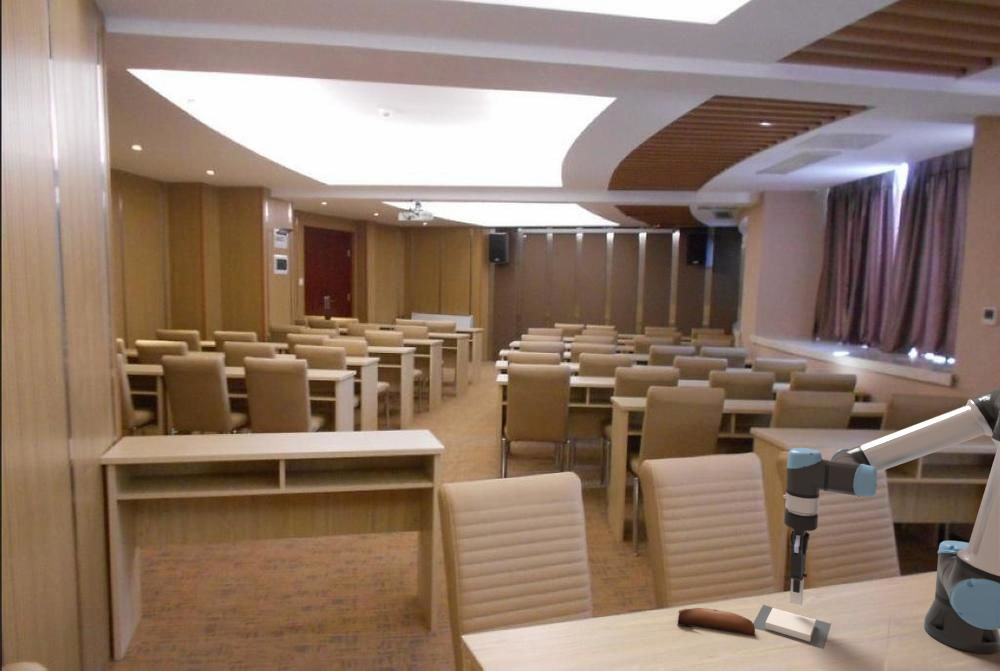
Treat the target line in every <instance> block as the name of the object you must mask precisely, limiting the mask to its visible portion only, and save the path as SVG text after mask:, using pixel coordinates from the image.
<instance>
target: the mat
mask: <svg viewBox="0 0 1000 671" xmlns="http://www.w3.org/2000/svg"><path fill="white" fill-rule="evenodd" d="M772 608H774V607H773V606H769V605H765V604H762V606H761V608H760V610H759V612H758V614H757V615H756V617H755V619H754V621H753V622H752V623H753V624H754V627H755V630H759V631H764V632H765V633H766V632H767V633H770V634H773V635H776V636H779V637H783V638H786V639H790V640H793V641H797V642H799V643H802V644H806V645H809V646H812V647H816V648H820V649H822V650H824V649H825V645H826V641H827V639H828V635H829V631H830V630H831V629H830V628H831V624H832V623H830V622H826V621H823V620H820V619H815V618H814V619H815V620H816V625H815V629H814V632H813V635H812V638H811V640H810V642H809V641H805V640H802V639H799V638H795V637H792V636H789V635H785V634H782V633H779V632H775V631H772V630H769V629H765V622H766V620H767V618H768V616H769V614H770V612H771V610H772ZM775 608H776V607H775ZM776 609H779V610H781V609H780V608H776ZM782 610H783V609H782ZM783 611H785V610H783ZM789 612H790V611H789ZM790 613H792V612H790ZM796 614H797V615H799V614H798V613H796ZM800 615H801V614H800ZM801 616H804V615H801ZM804 617H806V616H804ZM807 617H808V616H807ZM808 618H810V617H808Z"/></svg>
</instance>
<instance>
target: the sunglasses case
mask: <svg viewBox="0 0 1000 671" xmlns="http://www.w3.org/2000/svg"><path fill="white" fill-rule="evenodd" d="M753 623H754V622H753V621H752V620H750V619H749V618H746V617H744V616H742V615H740V614H737V613H734V612H731V611H725V610H720V609H719V610H717V609H716V608H715V609H714V608H713V609H711V608H708V607H707V608H705V607H704V608H703V607H694V608H692V607H691V608H683V609H679V611H678V620H677V625H678V626H679V625H680V626H686V627H699V628H707V629H714V630H720V631H726V632H731V633H732V632H733V633H737V634H738V633H739V634H743V635H749V636H754V637H755V636H756V634H755V633H756V628H755V627H754V624H753Z"/></svg>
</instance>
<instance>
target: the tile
mask: <svg viewBox="0 0 1000 671" xmlns="http://www.w3.org/2000/svg"><path fill="white" fill-rule="evenodd" d="M779 609H780V608H777V609H776V607H773V608H772V610H771V612H770V614H769V616H768V618H767V620H766V622H765V629H769V630H772V631H775V632H779V633H782V634H785V635H789V636H792V637H795V638H799V639H802V640H805V641H809V642H810V640H811V638H812V635H813V632H814V629H815V625H816V620H817V619H816V620H815V618H813V617H809V618H808V616H805V617H804V615H802V616H801V614H798V613H794V612H791V613H790V611H786V610H784V611H783V609H780V610H779ZM797 614H798V615H797Z"/></svg>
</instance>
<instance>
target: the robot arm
mask: <svg viewBox="0 0 1000 671" xmlns="http://www.w3.org/2000/svg"><path fill="white" fill-rule="evenodd" d="M983 436H988V437H991V440H992V442H993V443H994V444H995V446H996V448H997V449H996V453H995V456H994V460H993V462H992V466H991V470H990V472H989V476H988V479H987V482H986V485H985V490H984V493H983V496H982V499H981V502H980V505H979V506H980V507H979V509H978V513H977V515H976V520H975V522H974V525H973V529H972V532H971V536H970V539H969V541H968V542H966V541H959V540H943V541H942V542H941V541H940V543H939V546H938V550H937V554H938V555H937V569H936V578H935V593H934V599H933V601H932V604H931V605H930V607H929V608H928V610H927V612H926V615H925V617H924V621H923V623H924V624H923V625H924V626H923V628H924V630H925V632H926V633H928V635H929V636H931V637H932V638H933V639H935V640H936V641H939V642H941V643H943V644H944V645H947V646H949V647H952V648H955V649H958V650H961V651H966V652H970V653H975V654H985V655H986V654H994V653H996V652H999V650H1000V632H999V629H1000V386H998V387H996V388H994V389H992V390H990V391H989V390H988V391H986V392H985V393H982V394H980V395H977V396H975V397H972V398H970V399H967V403H966V404H965V405H963V406H961V407H958V408H956V409H953V410H951V411H947V412H945V413H942V414H940V415H936V416H934V417H932V418H930V419H926V420H924V421H922V422H919V423H916V424H913V425H910V426H908V427H905V428H903V429H900V430H898V431H895V432H893V433H892V432H891V433H890V434H887V435H885V436H882V437H879V438H876V439H873V440H870V441H868V442H866V443H863V444H860V445H858V446H855V447H852V448H841V449H839V450H836V451H835V453H834V454H833V455H832V457H831V458H830V460H828V459H823V457H822V453H821V452H820V450H817V449H813V448H808V447H793V448H791V449H790V450H789V451H788V455H787V466H786V482H785V484H786V487H785V494H783V495H782V498H783V499H785V502H784V503H785V505H784V506H785V510H784V516H783V518H784V519H783V520H784V521H783V522H784V524H785V525H786V526H787V527H788V528H791V529H792V530H791V533H790V534H789V535H790V536H789V537H790V538H789V539H790V573H788V575H787V578H789V579H790V590H789V591H790V592H789V603H791V604H795V605H799V606H803V600H804V584H805V583H804V580H805V578H808V574H807V573H805V572H806V561H807V560H806V558H807V550H808V548H809V541H810V533H809V532H812V531H816V530H817V528H818V523H819V522H818V521H819V514H817V513H819V510H820V508H819V507H820V491H823V492H829V493H837V494H842V495H850V496H855V497H859V498H861V497H865V498H866V497H867V498H873V497H875V496H876V494H877V488H878V473H879V472H882V471H885V470H888V469H891V468H894V467H896V466H899V465H901V464H905V463H908V462H911V461H913V460H917V459H919V458H922V457H925V456H928V455H931V454H933V453H937V452H939V451H943V450H945V449H948V448H950V447H953V446H956V445H959V444H962V443H964V442H965V443H966V442H968V441H970V440H973V439H977V438H978V437H983Z"/></svg>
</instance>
